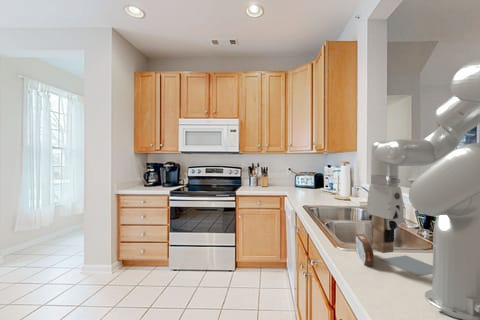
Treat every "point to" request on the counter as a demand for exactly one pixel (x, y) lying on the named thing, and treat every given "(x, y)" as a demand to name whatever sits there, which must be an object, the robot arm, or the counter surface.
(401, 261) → the mat
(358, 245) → the tin
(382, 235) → the block
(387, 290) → the counter surface
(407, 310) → the counter surface
